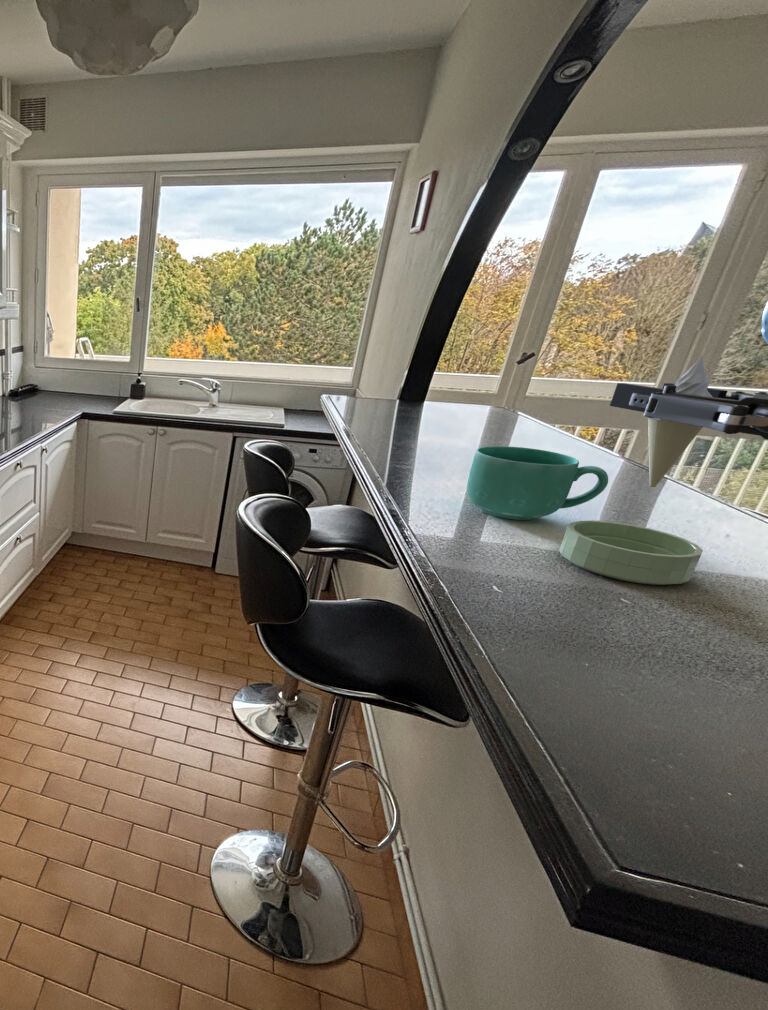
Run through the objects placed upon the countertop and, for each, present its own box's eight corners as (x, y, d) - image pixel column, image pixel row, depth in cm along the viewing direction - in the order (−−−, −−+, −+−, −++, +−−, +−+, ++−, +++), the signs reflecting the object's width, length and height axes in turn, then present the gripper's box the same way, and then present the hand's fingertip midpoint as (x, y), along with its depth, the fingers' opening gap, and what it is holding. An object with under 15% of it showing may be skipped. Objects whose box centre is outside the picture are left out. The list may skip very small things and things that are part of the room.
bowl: (670, 560, 76) (683, 531, 75) (704, 597, 67) (719, 565, 65) (551, 541, 82) (561, 514, 81) (567, 573, 73) (578, 543, 71)
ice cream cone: (669, 495, 67) (720, 358, 61) (614, 484, 71) (658, 355, 66) (691, 489, 69) (744, 355, 63) (637, 478, 73) (682, 352, 68)
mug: (456, 515, 92) (473, 456, 89) (463, 496, 102) (479, 442, 98) (595, 539, 83) (619, 474, 80) (589, 516, 92) (611, 457, 89)
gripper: (766, 476, 51) (555, 425, 73) (974, 477, 51) (701, 425, 73) (807, 388, 49) (575, 362, 70) (1028, 389, 48) (727, 362, 70)
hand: (640, 394), depth 71 cm, fingers closed on ice cream cone, 5 cm apart
